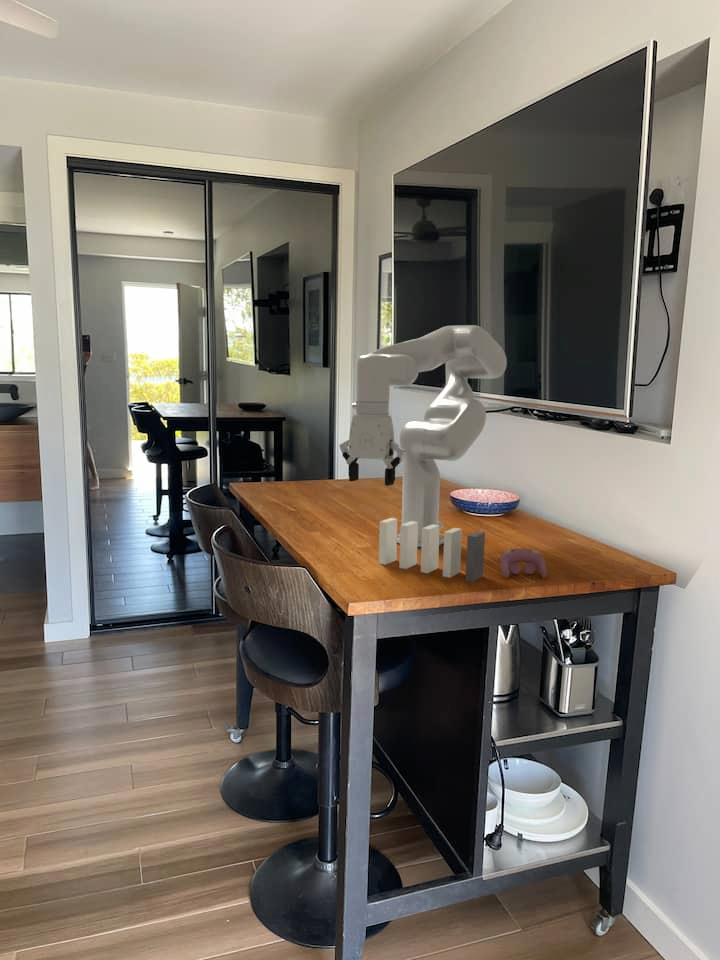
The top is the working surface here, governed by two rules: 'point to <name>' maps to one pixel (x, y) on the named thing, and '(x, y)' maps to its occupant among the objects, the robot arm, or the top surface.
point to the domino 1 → (388, 541)
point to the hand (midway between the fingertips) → (371, 482)
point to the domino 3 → (430, 548)
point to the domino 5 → (475, 556)
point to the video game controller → (522, 555)
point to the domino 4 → (452, 552)
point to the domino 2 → (408, 544)
